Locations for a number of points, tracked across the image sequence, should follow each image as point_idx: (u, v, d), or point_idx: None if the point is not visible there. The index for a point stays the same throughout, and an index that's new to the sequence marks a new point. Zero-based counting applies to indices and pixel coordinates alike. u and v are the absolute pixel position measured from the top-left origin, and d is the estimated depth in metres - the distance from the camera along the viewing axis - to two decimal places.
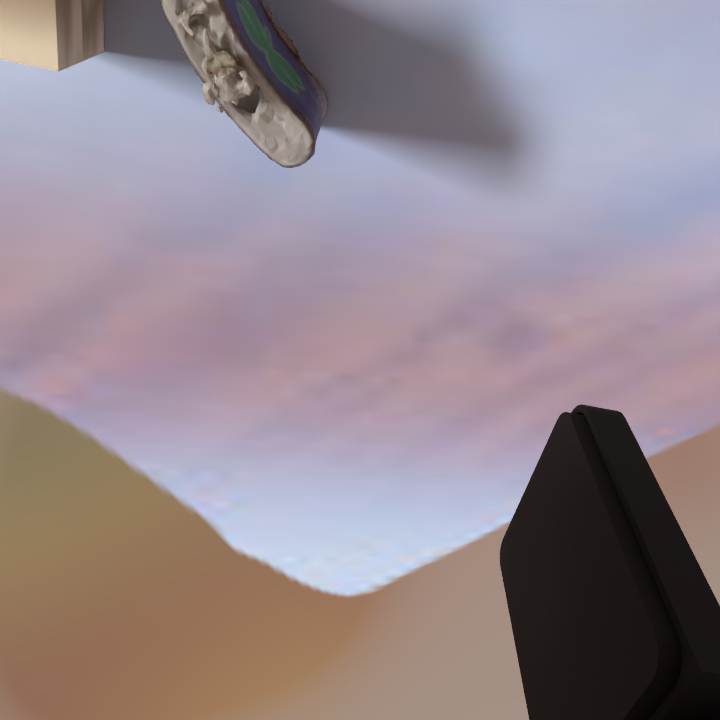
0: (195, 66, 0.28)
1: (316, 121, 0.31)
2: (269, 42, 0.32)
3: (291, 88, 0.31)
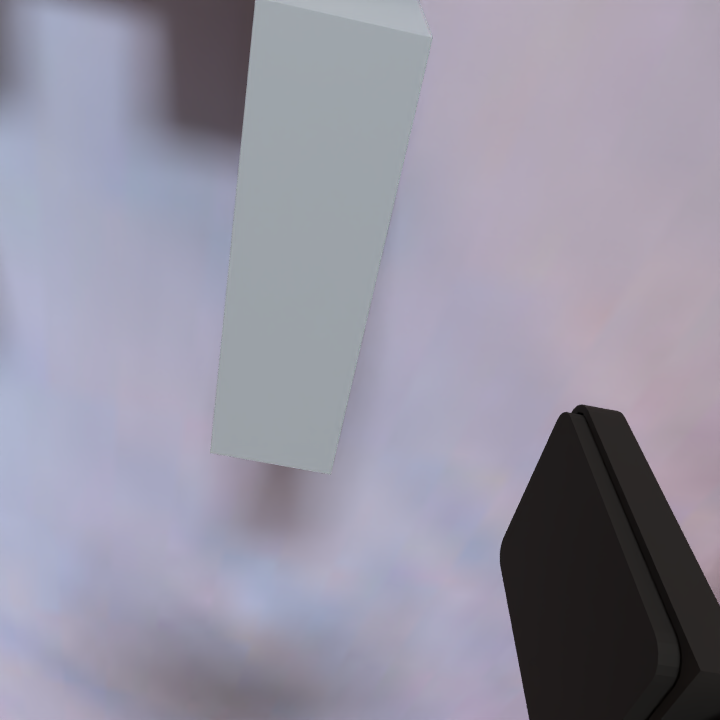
0: None
1: None
2: None
3: None
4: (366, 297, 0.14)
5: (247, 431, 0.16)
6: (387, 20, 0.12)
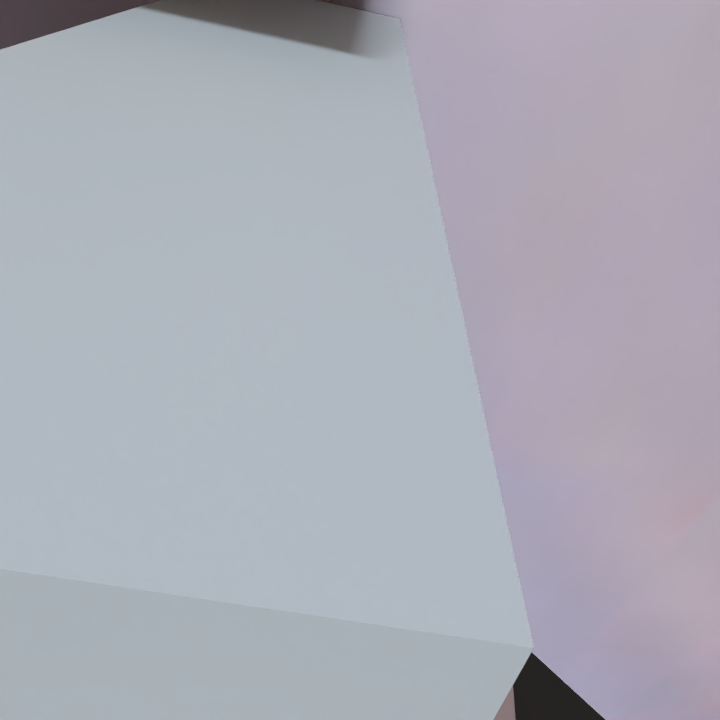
0: None
1: None
2: None
3: None
4: None
5: None
6: (245, 325, 0.02)
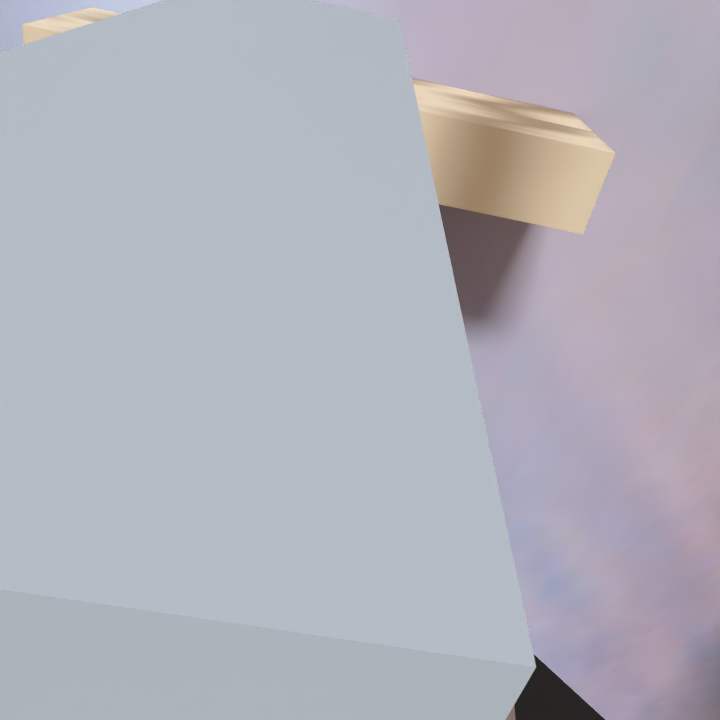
0: None
1: None
2: None
3: None
4: None
5: None
6: (243, 333, 0.02)
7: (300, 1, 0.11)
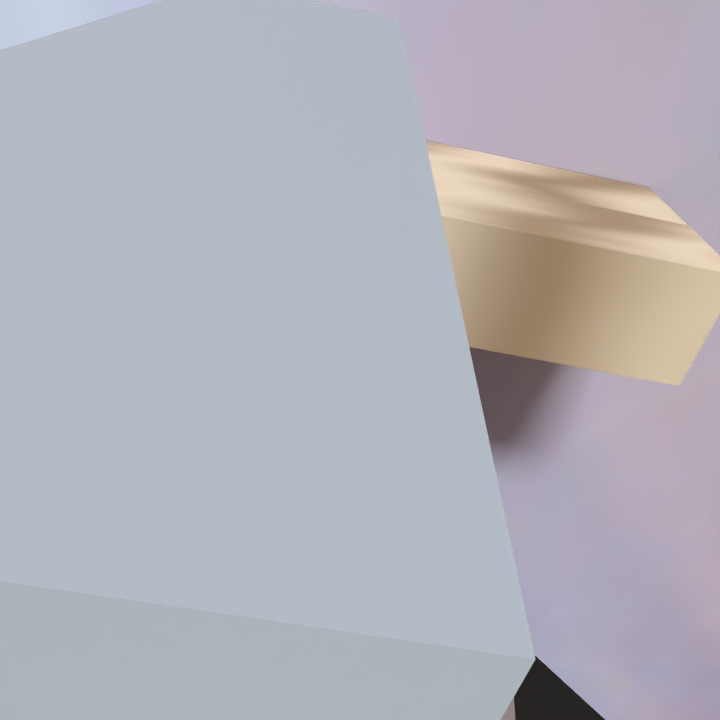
0: None
1: None
2: None
3: None
4: None
5: None
6: (245, 331, 0.02)
7: (300, 0, 0.11)
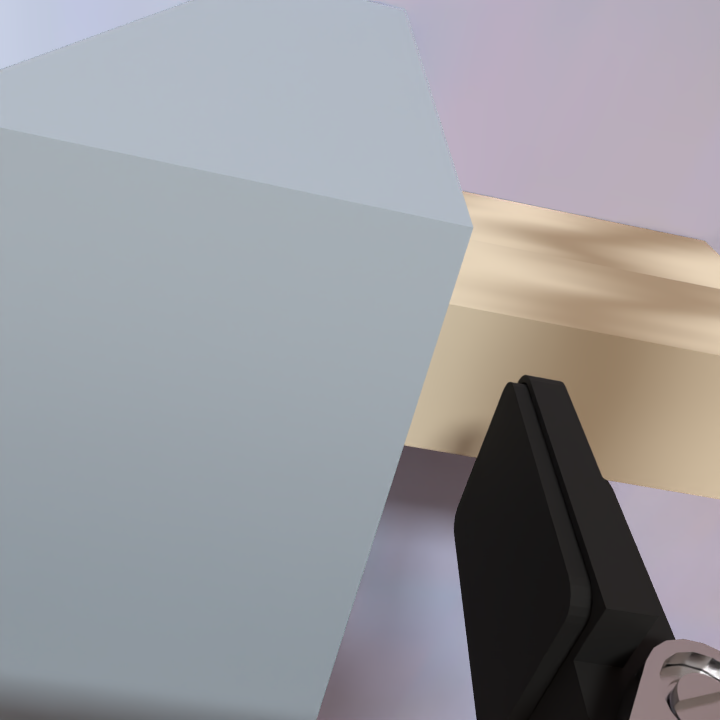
0: None
1: None
2: None
3: None
4: (304, 717, 0.06)
5: None
6: (340, 142, 0.04)
7: None
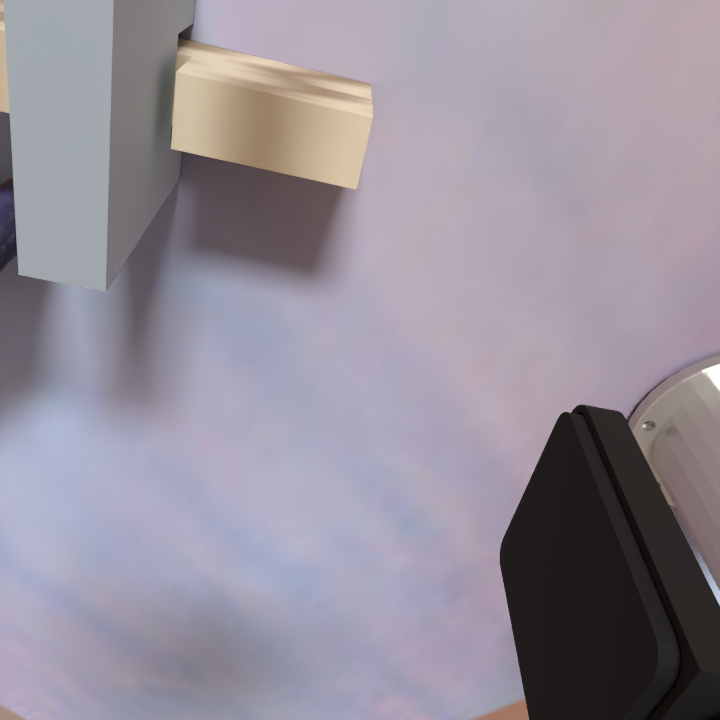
0: None
1: None
2: None
3: None
4: (105, 155, 0.21)
5: (42, 257, 0.23)
6: None
7: None
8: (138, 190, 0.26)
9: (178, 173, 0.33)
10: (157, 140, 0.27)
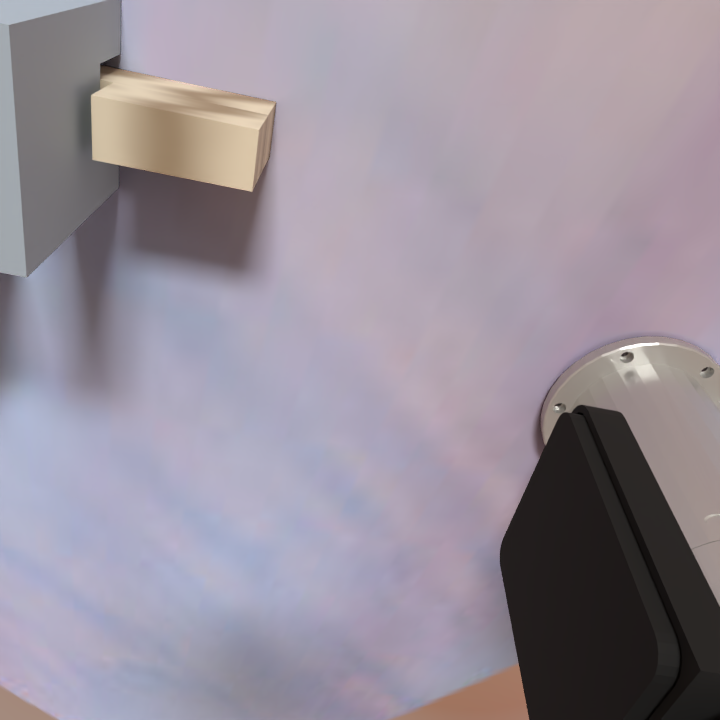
0: None
1: None
2: None
3: None
4: (15, 163, 0.26)
5: None
6: (0, 16, 0.24)
7: None
8: (61, 194, 0.31)
9: (116, 182, 0.38)
10: (82, 153, 0.32)
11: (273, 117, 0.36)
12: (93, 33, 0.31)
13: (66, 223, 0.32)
